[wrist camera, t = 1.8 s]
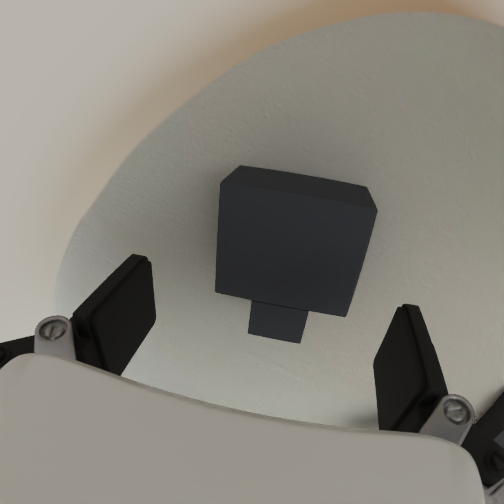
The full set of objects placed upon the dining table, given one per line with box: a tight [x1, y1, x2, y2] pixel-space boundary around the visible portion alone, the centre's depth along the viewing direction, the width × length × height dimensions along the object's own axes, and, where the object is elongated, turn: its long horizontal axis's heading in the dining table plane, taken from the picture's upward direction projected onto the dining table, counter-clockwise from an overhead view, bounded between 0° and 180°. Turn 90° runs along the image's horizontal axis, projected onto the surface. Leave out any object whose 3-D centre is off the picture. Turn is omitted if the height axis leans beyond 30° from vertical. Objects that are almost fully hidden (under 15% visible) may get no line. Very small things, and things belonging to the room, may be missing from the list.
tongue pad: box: [215, 165, 377, 343], centre depth 17 cm, size 8×7×4 cm
